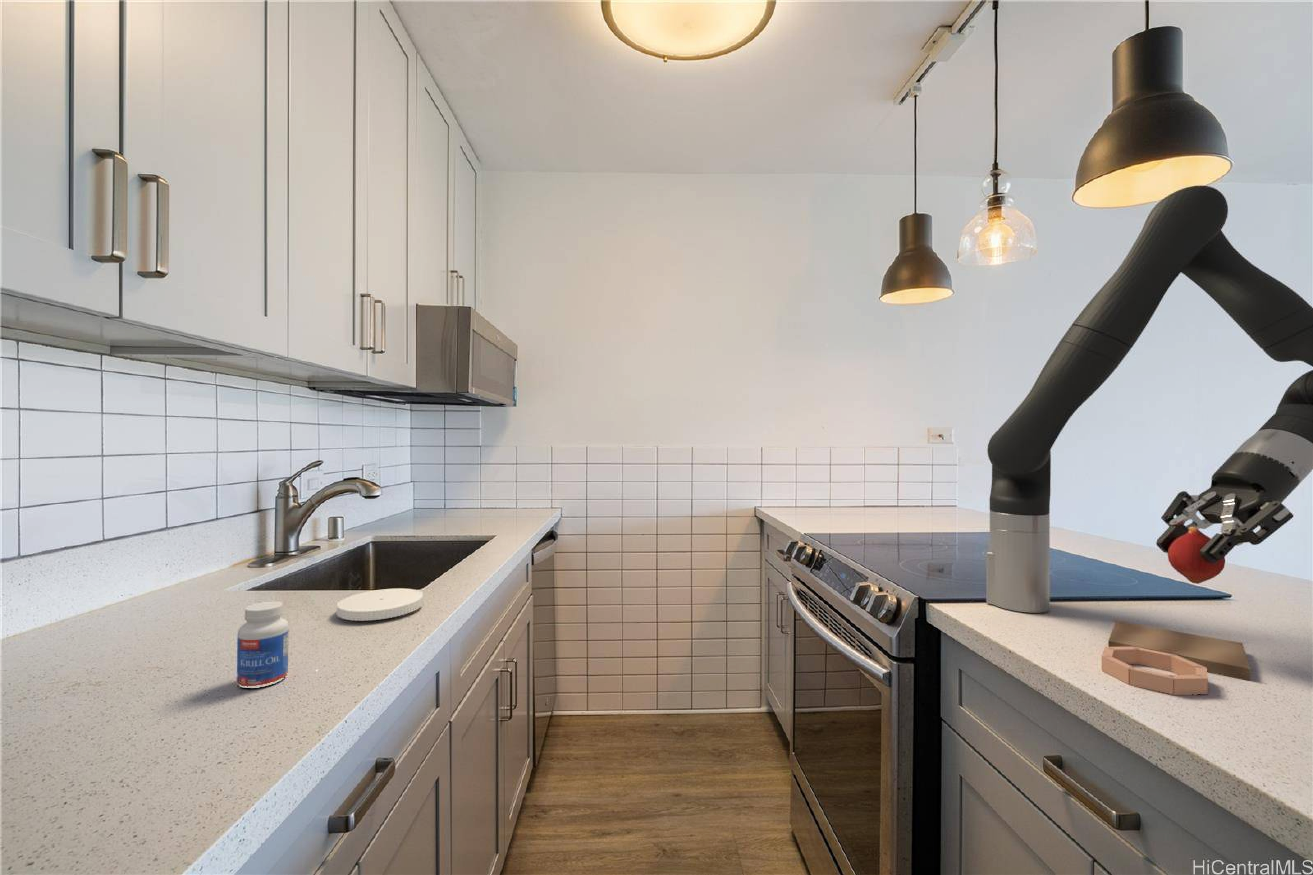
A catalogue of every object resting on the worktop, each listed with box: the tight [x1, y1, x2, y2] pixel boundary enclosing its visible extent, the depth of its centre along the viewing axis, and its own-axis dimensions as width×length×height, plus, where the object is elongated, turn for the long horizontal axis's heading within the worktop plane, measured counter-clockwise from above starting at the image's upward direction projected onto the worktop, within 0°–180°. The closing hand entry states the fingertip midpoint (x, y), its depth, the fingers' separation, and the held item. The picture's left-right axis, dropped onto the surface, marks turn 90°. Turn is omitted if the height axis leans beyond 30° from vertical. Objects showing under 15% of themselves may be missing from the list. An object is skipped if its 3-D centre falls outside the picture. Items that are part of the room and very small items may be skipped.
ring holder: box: [1101, 646, 1209, 696], centre depth 71 cm, size 10×10×2 cm
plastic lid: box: [336, 587, 425, 622], centre depth 99 cm, size 14×14×2 cm
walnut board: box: [1107, 620, 1251, 681], centre depth 79 cm, size 14×12×2 cm
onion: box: [1167, 527, 1226, 585], centre depth 78 cm, size 6×6×8 cm
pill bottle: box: [236, 601, 290, 687], centre depth 71 cm, size 6×5×10 cm
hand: (1183, 553), depth 78 cm, fingers closed on onion, 5 cm apart
